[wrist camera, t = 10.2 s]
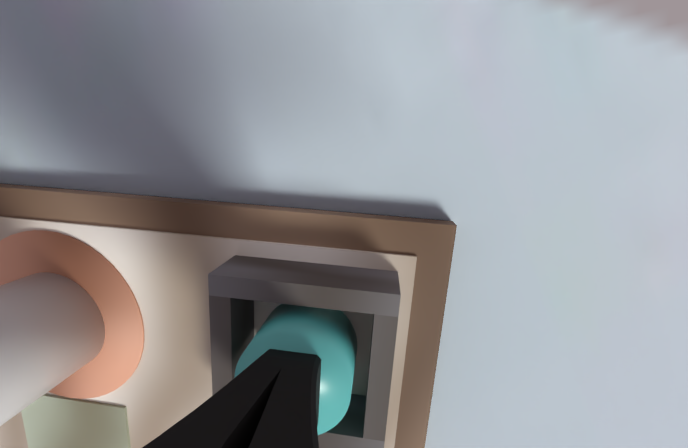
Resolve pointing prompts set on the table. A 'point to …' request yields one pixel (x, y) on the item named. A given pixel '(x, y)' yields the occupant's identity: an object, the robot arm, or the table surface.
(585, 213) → the table surface
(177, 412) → the beige base plate
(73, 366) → the capsule peg
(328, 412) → the button
